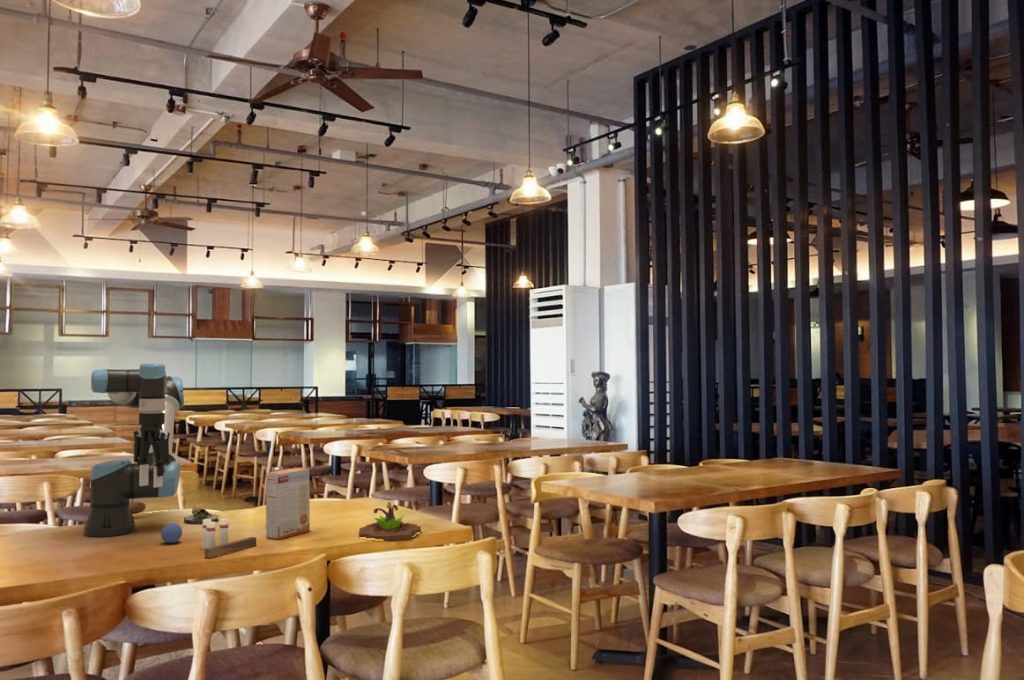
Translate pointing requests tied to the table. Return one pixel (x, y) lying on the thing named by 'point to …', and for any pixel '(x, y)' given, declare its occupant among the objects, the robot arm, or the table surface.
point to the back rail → (230, 547)
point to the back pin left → (223, 531)
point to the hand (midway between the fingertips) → (150, 486)
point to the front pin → (205, 531)
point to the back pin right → (210, 535)
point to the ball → (171, 533)
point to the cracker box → (287, 503)
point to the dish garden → (199, 515)
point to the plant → (389, 527)
